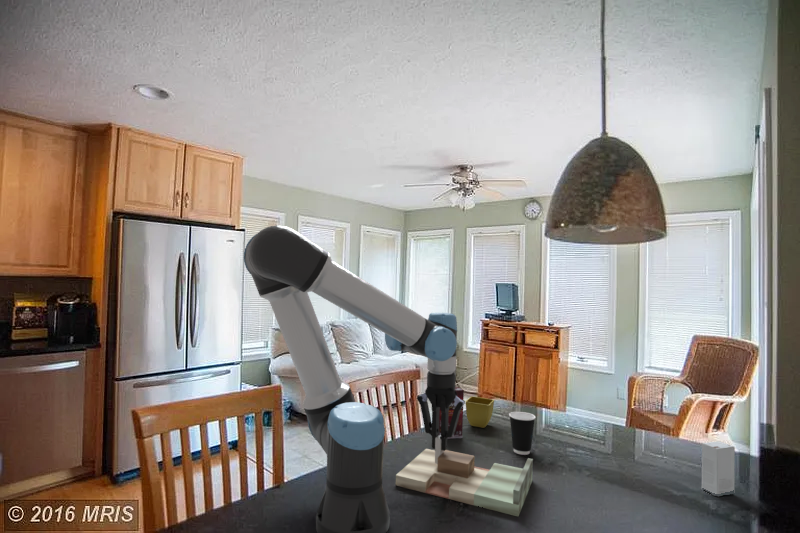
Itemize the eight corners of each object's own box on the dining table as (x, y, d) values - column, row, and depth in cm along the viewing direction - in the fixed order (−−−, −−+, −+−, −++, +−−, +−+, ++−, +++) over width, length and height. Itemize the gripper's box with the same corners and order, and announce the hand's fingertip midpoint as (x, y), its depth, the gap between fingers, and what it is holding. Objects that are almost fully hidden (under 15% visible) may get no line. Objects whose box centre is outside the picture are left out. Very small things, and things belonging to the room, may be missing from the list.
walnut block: (467, 478, 106) (468, 464, 106) (437, 471, 110) (437, 457, 110) (474, 469, 112) (474, 455, 112) (445, 463, 115) (445, 449, 115)
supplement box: (438, 440, 139) (439, 390, 140) (433, 434, 144) (434, 387, 145) (463, 438, 142) (464, 389, 142) (457, 433, 146) (458, 386, 147)
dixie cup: (503, 448, 134) (503, 412, 134) (524, 445, 137) (525, 410, 137) (518, 458, 126) (518, 420, 127) (540, 455, 129) (541, 418, 130)
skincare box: (717, 487, 111) (717, 440, 112) (736, 495, 107) (735, 446, 107) (700, 490, 109) (700, 441, 110) (717, 498, 105) (717, 448, 106)
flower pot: (494, 424, 158) (494, 399, 158) (488, 431, 150) (489, 404, 150) (470, 420, 161) (471, 396, 162) (464, 426, 153) (465, 401, 154)
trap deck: (518, 516, 94) (518, 491, 94) (395, 485, 107) (396, 462, 107) (532, 480, 112) (532, 459, 112) (425, 457, 125) (426, 438, 125)
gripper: (469, 371, 114) (467, 461, 113) (423, 366, 120) (421, 452, 119) (461, 376, 108) (458, 472, 107) (413, 371, 113) (410, 462, 112)
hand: (439, 461), depth 113 cm, fingers closed
